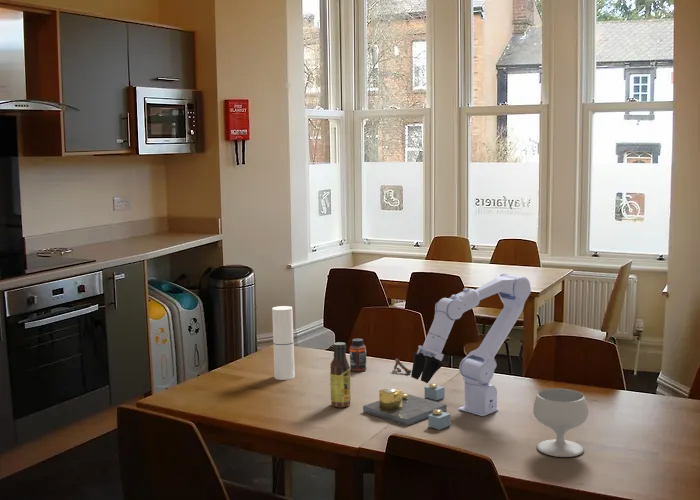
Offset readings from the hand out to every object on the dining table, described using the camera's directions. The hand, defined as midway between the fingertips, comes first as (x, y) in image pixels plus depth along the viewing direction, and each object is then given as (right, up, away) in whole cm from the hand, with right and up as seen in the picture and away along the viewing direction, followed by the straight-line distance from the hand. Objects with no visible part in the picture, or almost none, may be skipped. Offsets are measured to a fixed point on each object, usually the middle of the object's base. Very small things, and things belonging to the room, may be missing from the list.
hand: (419, 380), depth 233 cm
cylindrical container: (-43, -8, +53) cm, 69 cm away
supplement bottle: (-17, -6, +60) cm, 62 cm away
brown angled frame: (-1, -7, +55) cm, 56 cm away
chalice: (+35, -15, -21) cm, 44 cm away
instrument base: (-3, -12, +12) cm, 17 cm away
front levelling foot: (+7, -10, +25) cm, 28 cm away
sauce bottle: (-23, -11, +20) cm, 32 cm away
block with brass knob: (+6, -13, -1) cm, 14 cm away
